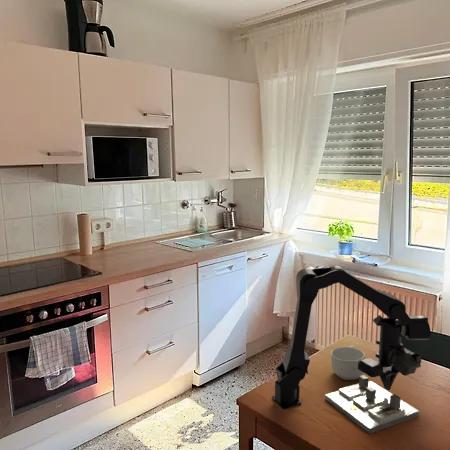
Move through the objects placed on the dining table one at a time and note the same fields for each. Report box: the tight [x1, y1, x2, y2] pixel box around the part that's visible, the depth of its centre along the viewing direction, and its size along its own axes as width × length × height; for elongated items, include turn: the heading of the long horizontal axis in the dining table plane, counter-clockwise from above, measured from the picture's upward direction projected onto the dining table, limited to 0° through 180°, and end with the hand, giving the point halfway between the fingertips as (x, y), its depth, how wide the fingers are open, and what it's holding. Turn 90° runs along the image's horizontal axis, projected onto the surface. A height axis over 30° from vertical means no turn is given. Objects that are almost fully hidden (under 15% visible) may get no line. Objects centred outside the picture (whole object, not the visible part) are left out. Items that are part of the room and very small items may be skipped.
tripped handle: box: [366, 387, 376, 401], centre depth 120 cm, size 2×2×3 cm
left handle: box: [358, 374, 370, 388], centre depth 127 cm, size 2×2×3 cm
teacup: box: [330, 345, 366, 381], centre depth 139 cm, size 14×11×8 cm
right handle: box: [390, 393, 402, 409], centre depth 116 cm, size 2×2×3 cm
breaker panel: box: [324, 380, 420, 434], centre depth 120 cm, size 18×18×3 cm
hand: (387, 389), depth 123 cm, fingers closed
